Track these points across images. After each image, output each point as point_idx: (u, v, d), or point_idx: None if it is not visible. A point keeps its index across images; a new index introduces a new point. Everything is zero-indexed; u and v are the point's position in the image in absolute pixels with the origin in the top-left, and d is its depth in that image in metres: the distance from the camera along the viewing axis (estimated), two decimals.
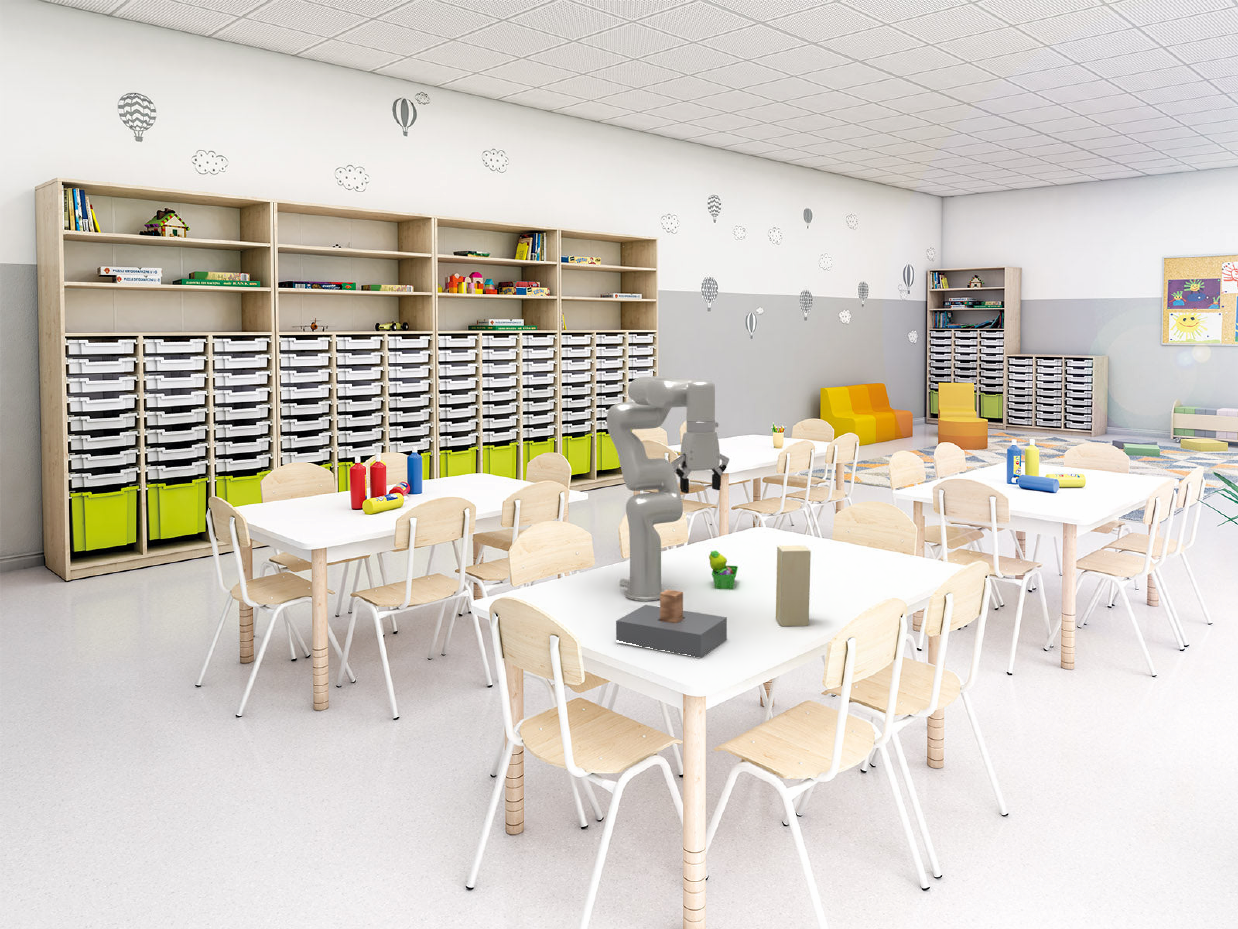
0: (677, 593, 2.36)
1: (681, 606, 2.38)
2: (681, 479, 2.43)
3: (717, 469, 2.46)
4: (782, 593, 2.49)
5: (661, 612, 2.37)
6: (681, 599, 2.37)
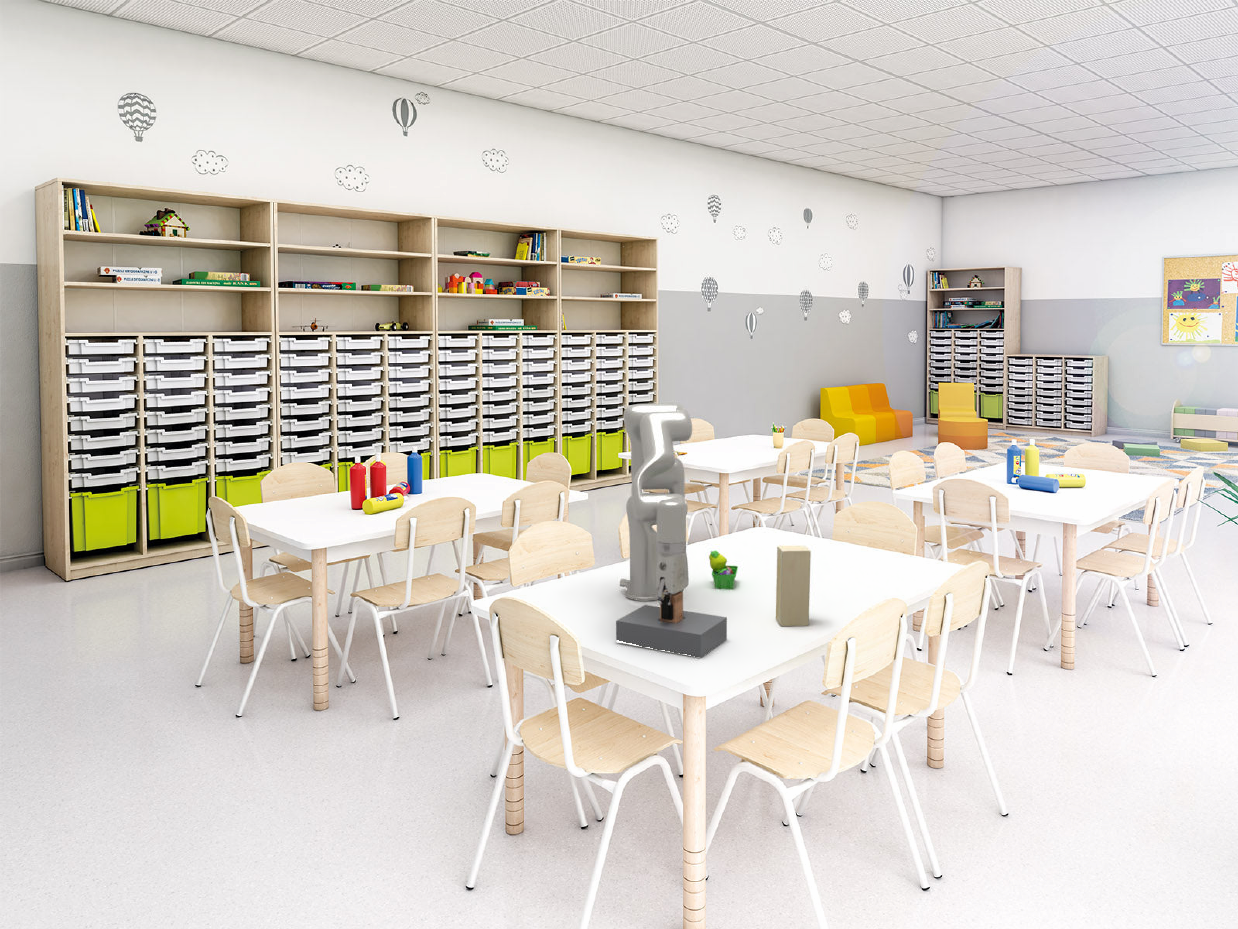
0: (677, 593, 2.36)
1: (681, 606, 2.38)
2: None
3: None
4: (782, 593, 2.49)
5: None
6: (681, 599, 2.38)
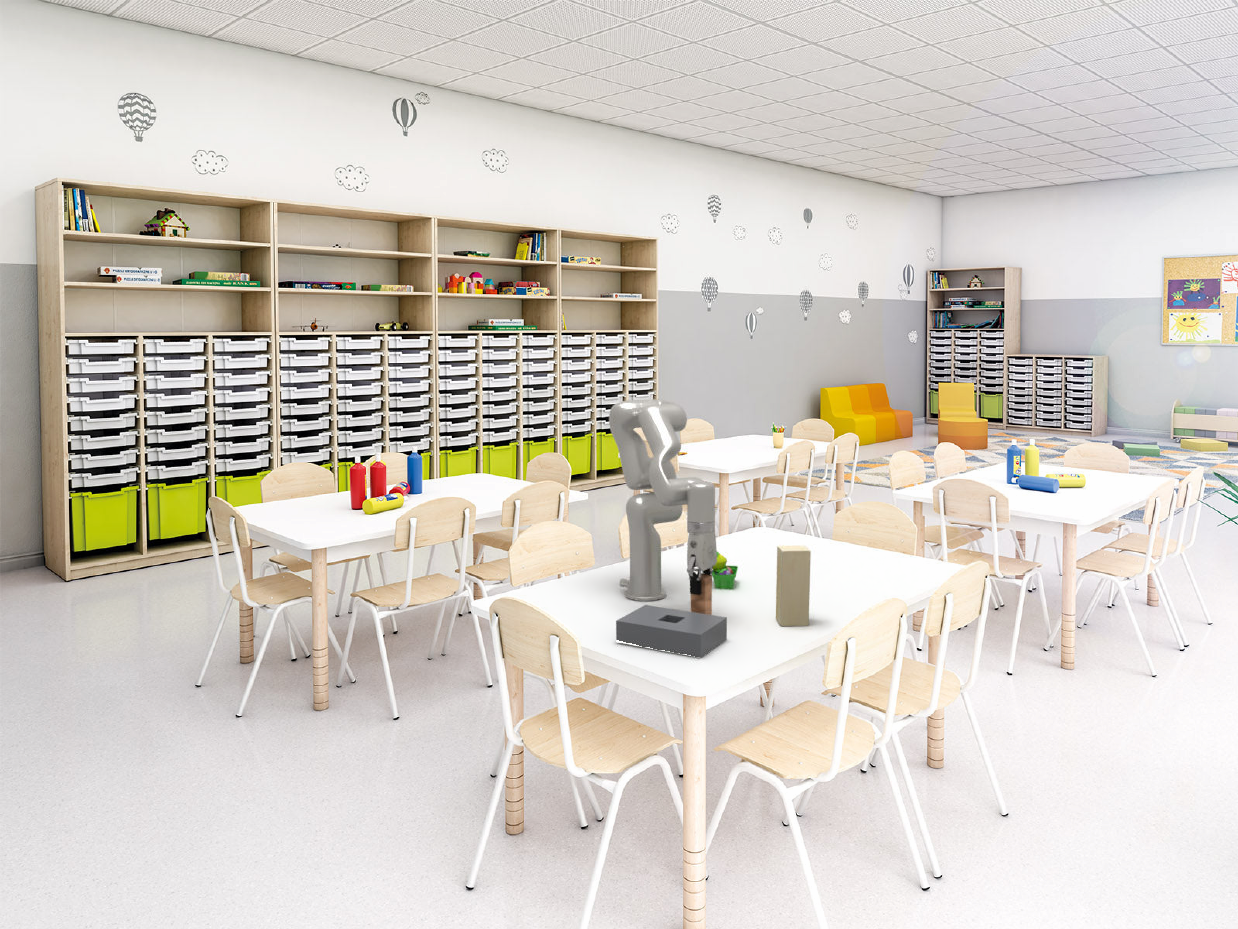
0: (706, 576, 2.52)
1: (710, 589, 2.53)
2: None
3: None
4: (782, 593, 2.49)
5: (691, 595, 2.52)
6: (710, 582, 2.53)
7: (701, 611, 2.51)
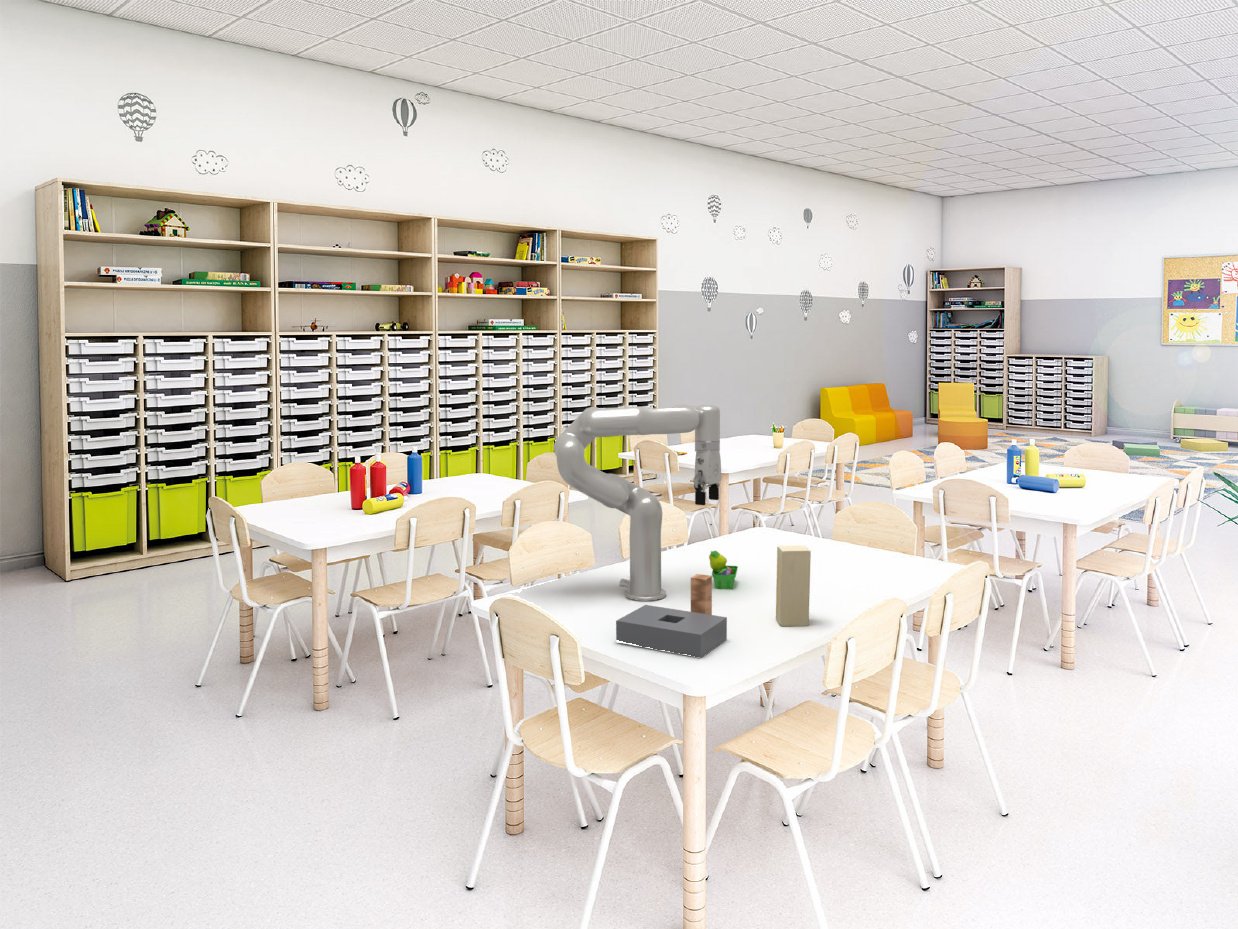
0: (706, 577, 2.52)
1: (710, 589, 2.53)
2: None
3: None
4: (782, 593, 2.49)
5: (692, 595, 2.52)
6: (710, 582, 2.53)
7: (701, 611, 2.51)
